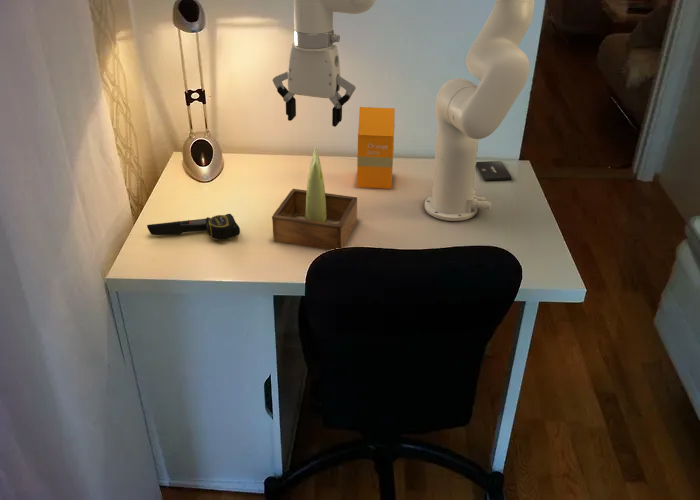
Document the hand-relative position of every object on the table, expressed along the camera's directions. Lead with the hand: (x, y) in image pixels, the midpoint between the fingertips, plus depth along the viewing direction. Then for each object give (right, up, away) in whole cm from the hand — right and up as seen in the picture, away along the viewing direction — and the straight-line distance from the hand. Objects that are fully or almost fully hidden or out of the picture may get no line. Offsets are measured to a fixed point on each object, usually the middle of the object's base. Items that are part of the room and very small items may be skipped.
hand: (313, 121), depth 145 cm
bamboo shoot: (0, -23, +14) cm, 27 cm away
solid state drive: (+46, -6, +40) cm, 61 cm away
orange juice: (+14, -9, +35) cm, 39 cm away
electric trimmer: (-30, -23, +13) cm, 40 cm away
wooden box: (0, -22, +14) cm, 26 cm away
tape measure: (-21, -23, +12) cm, 33 cm away
